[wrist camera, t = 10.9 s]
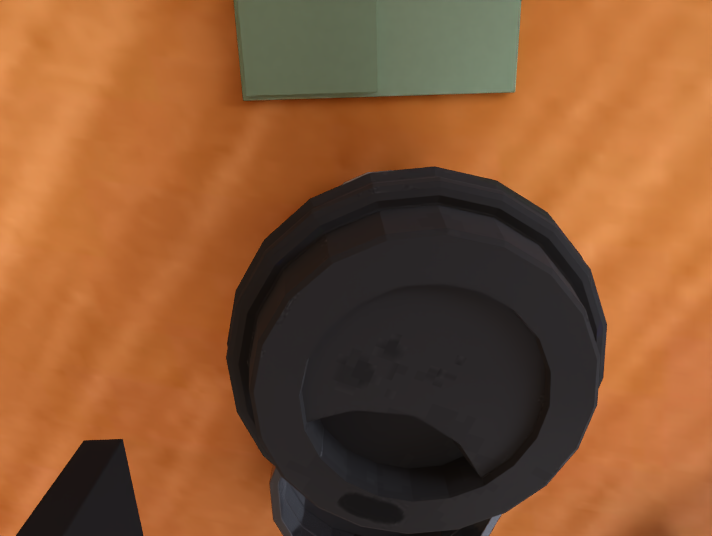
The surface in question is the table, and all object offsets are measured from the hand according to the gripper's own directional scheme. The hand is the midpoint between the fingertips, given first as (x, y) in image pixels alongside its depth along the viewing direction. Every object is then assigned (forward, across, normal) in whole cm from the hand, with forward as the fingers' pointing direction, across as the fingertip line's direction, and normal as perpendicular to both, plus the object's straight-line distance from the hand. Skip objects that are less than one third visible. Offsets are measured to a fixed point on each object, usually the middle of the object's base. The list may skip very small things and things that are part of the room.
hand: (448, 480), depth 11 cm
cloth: (+18, 0, +12) cm, 22 cm away
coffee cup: (+18, 0, 0) cm, 18 cm away
